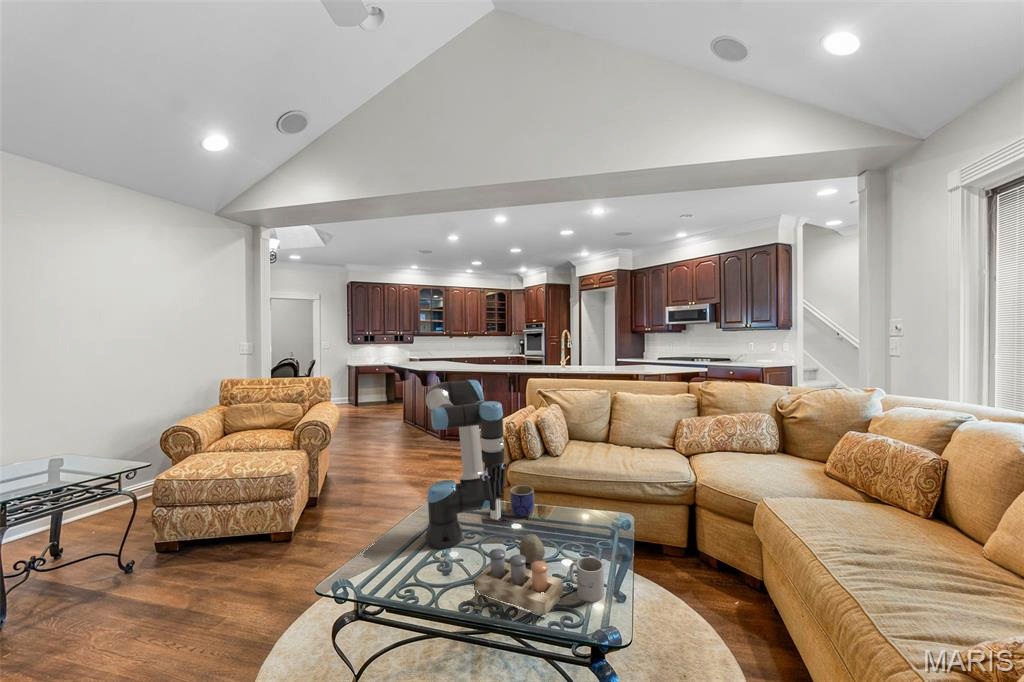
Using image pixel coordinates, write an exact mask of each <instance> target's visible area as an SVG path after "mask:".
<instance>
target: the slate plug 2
mask: <svg viewBox="0 0 1024 682" xmlns="http://www.w3.org/2000/svg"><path fill="white" fill-rule="evenodd" d="M509 563H510V564H511V581H512V582H513V583H515V584H522V583H524V582H525V581H526V572H525V568H526V564H527V563H526V558H525V556H523V555H520V554H514V555H511V556H510V557H509Z"/></svg>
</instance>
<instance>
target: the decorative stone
mask: <svg viewBox="0 0 1024 682" xmlns="http://www.w3.org/2000/svg"><path fill="white" fill-rule="evenodd" d="M545 554H546V551H545V545H544V543H543V542H542V541H541V539H540V538H539V536H537V535H536V534H535V533H533V534H532V533H529V534H526V535H525V536H524V537H522V538H521V541H520V543H519V555H523V556H525V558H526V563H525V564H530V565H531V564H532V563H533V562H535V561H543V559H544V557H545Z"/></svg>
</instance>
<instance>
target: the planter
mask: <svg viewBox="0 0 1024 682" xmlns="http://www.w3.org/2000/svg"><path fill="white" fill-rule="evenodd" d="M534 490H535V489H534V487H532V486H530V485H525V484H521V485H515V486H513V487H511V488H510V489H509V501H510V509H511V511H512V513H513V514H514V515H515V516H516V517H520V518H524V517H528V516H530V515H531V514H532V513H533V511H534V508H535V491H534Z"/></svg>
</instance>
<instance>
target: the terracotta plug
mask: <svg viewBox="0 0 1024 682" xmlns="http://www.w3.org/2000/svg"><path fill="white" fill-rule="evenodd" d="M548 569H549V565H548V563H547V562H545V561H543V560H541V561H535V562H533V563H532V564H530V570H532V585H533V589H534V590H536V591H544V590H546V589H547V587H548V585H547V575H548Z"/></svg>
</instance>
